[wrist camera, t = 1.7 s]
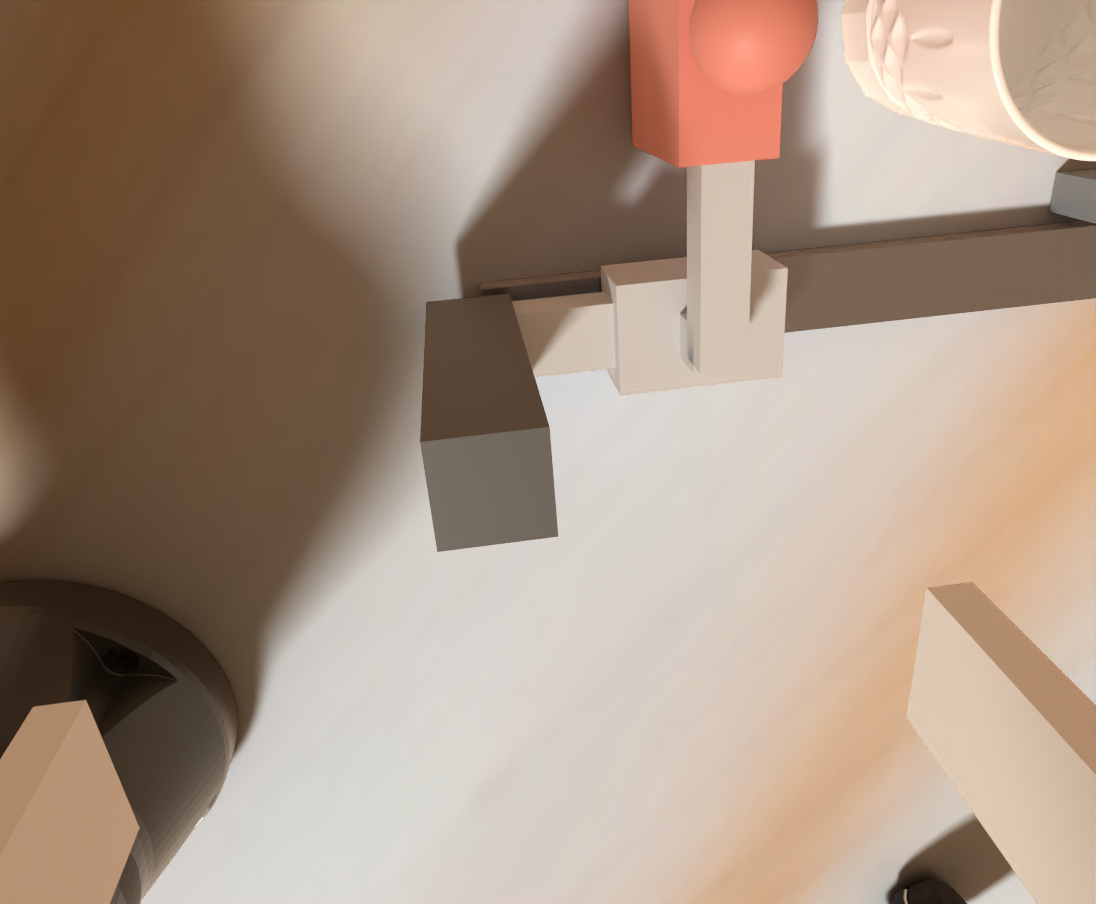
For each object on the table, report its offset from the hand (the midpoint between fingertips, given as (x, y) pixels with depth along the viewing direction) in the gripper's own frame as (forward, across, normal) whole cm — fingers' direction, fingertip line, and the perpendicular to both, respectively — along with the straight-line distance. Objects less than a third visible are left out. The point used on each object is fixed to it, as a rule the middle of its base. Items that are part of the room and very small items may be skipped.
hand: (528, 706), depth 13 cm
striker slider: (+21, -4, -6) cm, 22 cm away
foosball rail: (+21, -15, 0) cm, 26 cm away
